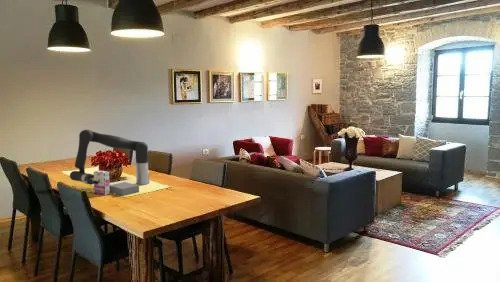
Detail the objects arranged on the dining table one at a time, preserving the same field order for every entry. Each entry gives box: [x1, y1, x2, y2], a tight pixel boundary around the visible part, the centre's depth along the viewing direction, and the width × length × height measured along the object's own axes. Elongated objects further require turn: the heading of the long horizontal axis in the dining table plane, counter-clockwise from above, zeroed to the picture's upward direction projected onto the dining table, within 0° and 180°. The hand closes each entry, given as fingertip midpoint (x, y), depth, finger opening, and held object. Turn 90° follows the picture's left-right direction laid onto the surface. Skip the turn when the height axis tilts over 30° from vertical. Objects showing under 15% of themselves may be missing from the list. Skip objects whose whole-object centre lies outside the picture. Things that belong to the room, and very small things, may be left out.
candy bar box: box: [93, 169, 111, 196], centre depth 278 cm, size 11×5×16 cm, turn 62°
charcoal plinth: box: [110, 181, 140, 197], centre depth 284 cm, size 14×17×5 cm
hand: (101, 182), depth 278 cm, fingers open, 5 cm apart
